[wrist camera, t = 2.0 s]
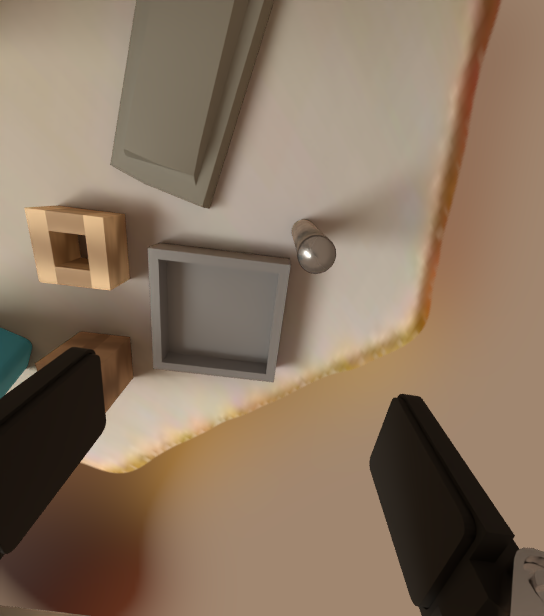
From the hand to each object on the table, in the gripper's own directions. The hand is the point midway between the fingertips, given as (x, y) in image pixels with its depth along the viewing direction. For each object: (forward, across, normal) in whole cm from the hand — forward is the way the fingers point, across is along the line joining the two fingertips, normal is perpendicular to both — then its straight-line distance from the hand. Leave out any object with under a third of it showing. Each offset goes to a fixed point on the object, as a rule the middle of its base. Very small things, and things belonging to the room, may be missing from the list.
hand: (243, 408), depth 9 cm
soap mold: (+24, +9, -15) cm, 30 cm away
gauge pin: (+23, -3, -3) cm, 24 cm away
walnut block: (+23, +19, +15) cm, 34 cm away
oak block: (+23, +19, +1) cm, 30 cm away
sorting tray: (+23, +5, +7) cm, 25 cm away
